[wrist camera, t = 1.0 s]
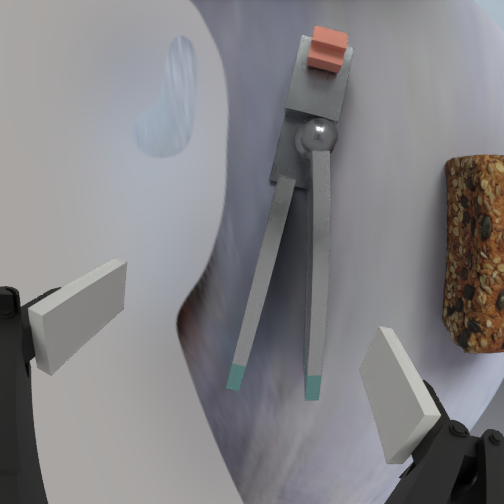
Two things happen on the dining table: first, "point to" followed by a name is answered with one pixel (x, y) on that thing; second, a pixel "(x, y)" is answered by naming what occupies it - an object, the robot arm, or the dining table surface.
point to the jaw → (317, 248)
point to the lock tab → (327, 49)
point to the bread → (475, 253)
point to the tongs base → (289, 178)
